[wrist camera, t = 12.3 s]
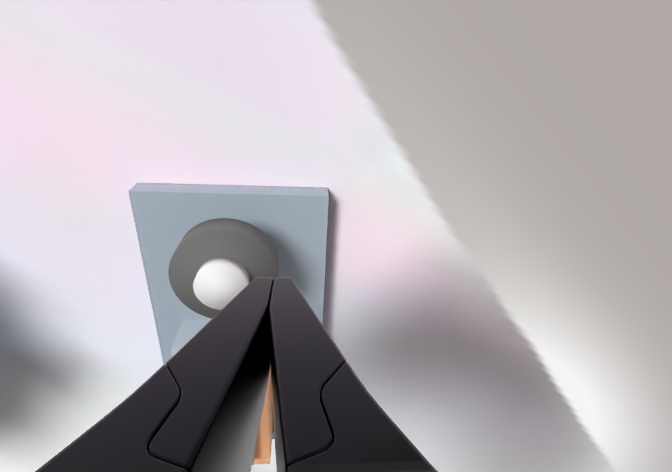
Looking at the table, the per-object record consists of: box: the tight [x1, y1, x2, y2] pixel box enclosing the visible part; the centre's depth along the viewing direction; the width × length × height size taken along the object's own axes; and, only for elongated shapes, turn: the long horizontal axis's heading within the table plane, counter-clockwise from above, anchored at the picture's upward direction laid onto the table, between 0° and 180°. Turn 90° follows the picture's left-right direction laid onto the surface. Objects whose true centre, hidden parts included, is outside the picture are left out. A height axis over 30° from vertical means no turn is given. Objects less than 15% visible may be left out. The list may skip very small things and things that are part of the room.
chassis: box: [129, 183, 329, 439], centre depth 23 cm, size 16×10×4 cm, turn 177°
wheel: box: [168, 218, 279, 318], centre depth 19 cm, size 5×5×2 cm
